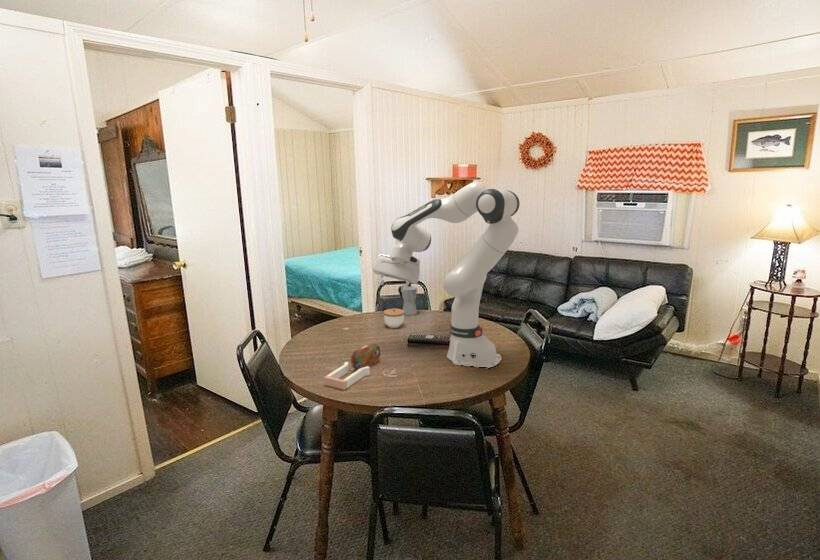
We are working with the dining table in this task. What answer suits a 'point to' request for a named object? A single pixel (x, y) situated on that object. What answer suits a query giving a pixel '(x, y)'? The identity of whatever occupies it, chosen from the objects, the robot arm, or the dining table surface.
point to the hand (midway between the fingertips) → (391, 287)
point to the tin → (365, 356)
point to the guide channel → (338, 383)
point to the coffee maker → (409, 299)
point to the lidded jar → (394, 317)
